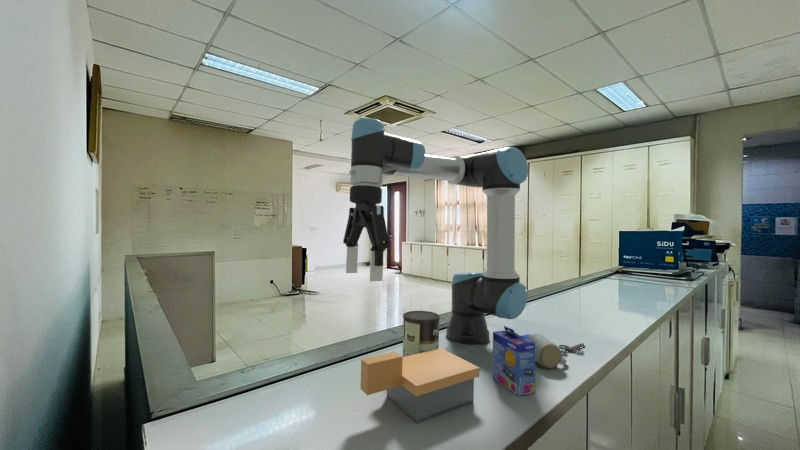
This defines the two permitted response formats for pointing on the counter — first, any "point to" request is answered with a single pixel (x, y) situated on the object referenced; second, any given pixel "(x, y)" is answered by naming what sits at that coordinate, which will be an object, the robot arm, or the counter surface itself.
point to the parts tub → (432, 400)
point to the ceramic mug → (546, 352)
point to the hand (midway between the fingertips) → (362, 276)
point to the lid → (415, 371)
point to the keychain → (571, 349)
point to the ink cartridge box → (514, 361)
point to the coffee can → (420, 332)
